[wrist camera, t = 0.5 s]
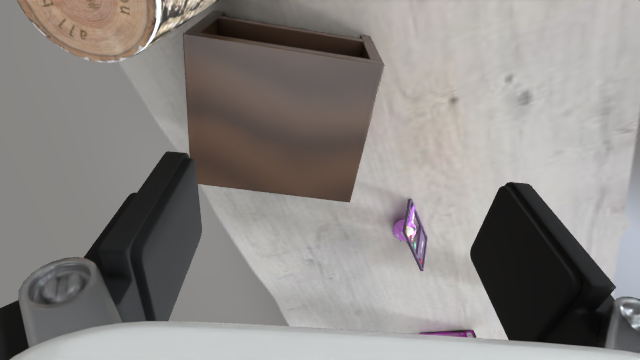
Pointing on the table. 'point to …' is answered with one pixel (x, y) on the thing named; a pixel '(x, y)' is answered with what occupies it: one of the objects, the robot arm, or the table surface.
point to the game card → (412, 234)
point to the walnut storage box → (278, 106)
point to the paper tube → (109, 24)
